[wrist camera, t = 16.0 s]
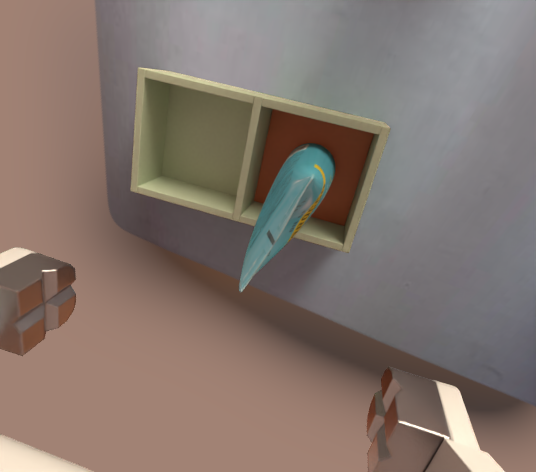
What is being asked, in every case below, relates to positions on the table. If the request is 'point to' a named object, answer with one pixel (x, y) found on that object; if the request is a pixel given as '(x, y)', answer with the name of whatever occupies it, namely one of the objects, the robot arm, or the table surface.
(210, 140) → the tray
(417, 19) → the table surface
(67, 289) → the robot arm
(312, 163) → the tube
